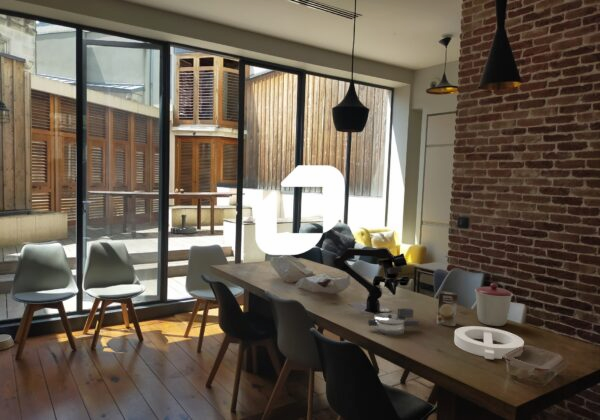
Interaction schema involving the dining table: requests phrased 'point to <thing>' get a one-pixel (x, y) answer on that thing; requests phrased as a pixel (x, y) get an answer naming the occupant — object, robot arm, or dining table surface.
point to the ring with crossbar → (486, 341)
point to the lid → (394, 316)
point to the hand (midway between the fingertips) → (394, 294)
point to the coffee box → (447, 308)
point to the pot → (391, 327)
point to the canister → (493, 305)
